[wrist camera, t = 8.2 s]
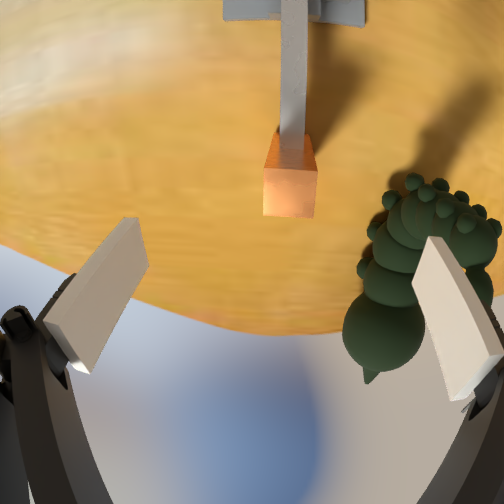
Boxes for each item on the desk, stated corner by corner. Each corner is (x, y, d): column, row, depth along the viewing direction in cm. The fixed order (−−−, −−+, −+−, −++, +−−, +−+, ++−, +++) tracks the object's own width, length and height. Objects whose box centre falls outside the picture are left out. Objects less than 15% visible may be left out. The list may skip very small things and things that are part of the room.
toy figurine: (363, 151, 28) (326, 335, 40) (449, 234, 11) (332, 462, 24) (441, 166, 27) (388, 338, 39) (556, 252, 10) (414, 455, 23)
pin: (273, 164, 28) (263, 215, 19) (275, 0, 19) (264, -38, 10) (307, 167, 27) (313, 218, 19) (312, 1, 18) (323, -35, 10)
